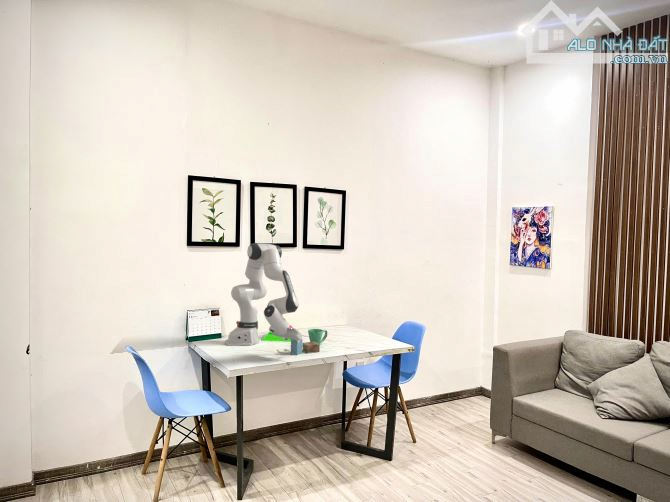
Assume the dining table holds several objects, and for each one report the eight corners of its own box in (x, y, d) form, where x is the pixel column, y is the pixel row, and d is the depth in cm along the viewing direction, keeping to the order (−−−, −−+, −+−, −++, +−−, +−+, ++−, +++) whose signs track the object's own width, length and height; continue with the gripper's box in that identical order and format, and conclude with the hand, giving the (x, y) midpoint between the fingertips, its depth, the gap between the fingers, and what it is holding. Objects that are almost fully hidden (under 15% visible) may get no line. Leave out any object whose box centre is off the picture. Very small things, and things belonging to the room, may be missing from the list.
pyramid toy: (268, 334, 346) (268, 314, 345) (302, 335, 344) (302, 315, 343) (259, 341, 321) (260, 320, 320) (296, 343, 319) (296, 322, 318)
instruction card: (280, 352, 291) (280, 352, 291) (276, 350, 297) (276, 349, 297) (295, 351, 295) (295, 350, 295) (291, 348, 301) (291, 348, 301)
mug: (314, 348, 304) (314, 332, 304) (304, 345, 311) (305, 329, 311) (331, 344, 314) (331, 329, 313) (321, 342, 321) (322, 327, 321)
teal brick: (297, 355, 286) (297, 340, 286) (290, 353, 289) (290, 339, 288) (302, 353, 290) (302, 338, 290) (295, 352, 293) (296, 337, 293)
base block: (307, 353, 291) (307, 345, 290) (302, 350, 298) (302, 342, 298) (319, 352, 294) (319, 344, 294) (314, 349, 301) (314, 341, 301)
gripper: (298, 325, 273) (308, 338, 281) (271, 320, 285) (282, 334, 293) (292, 333, 270) (303, 347, 278) (266, 329, 281) (277, 342, 290)
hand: (292, 340), depth 286 cm, fingers open, 8 cm apart
